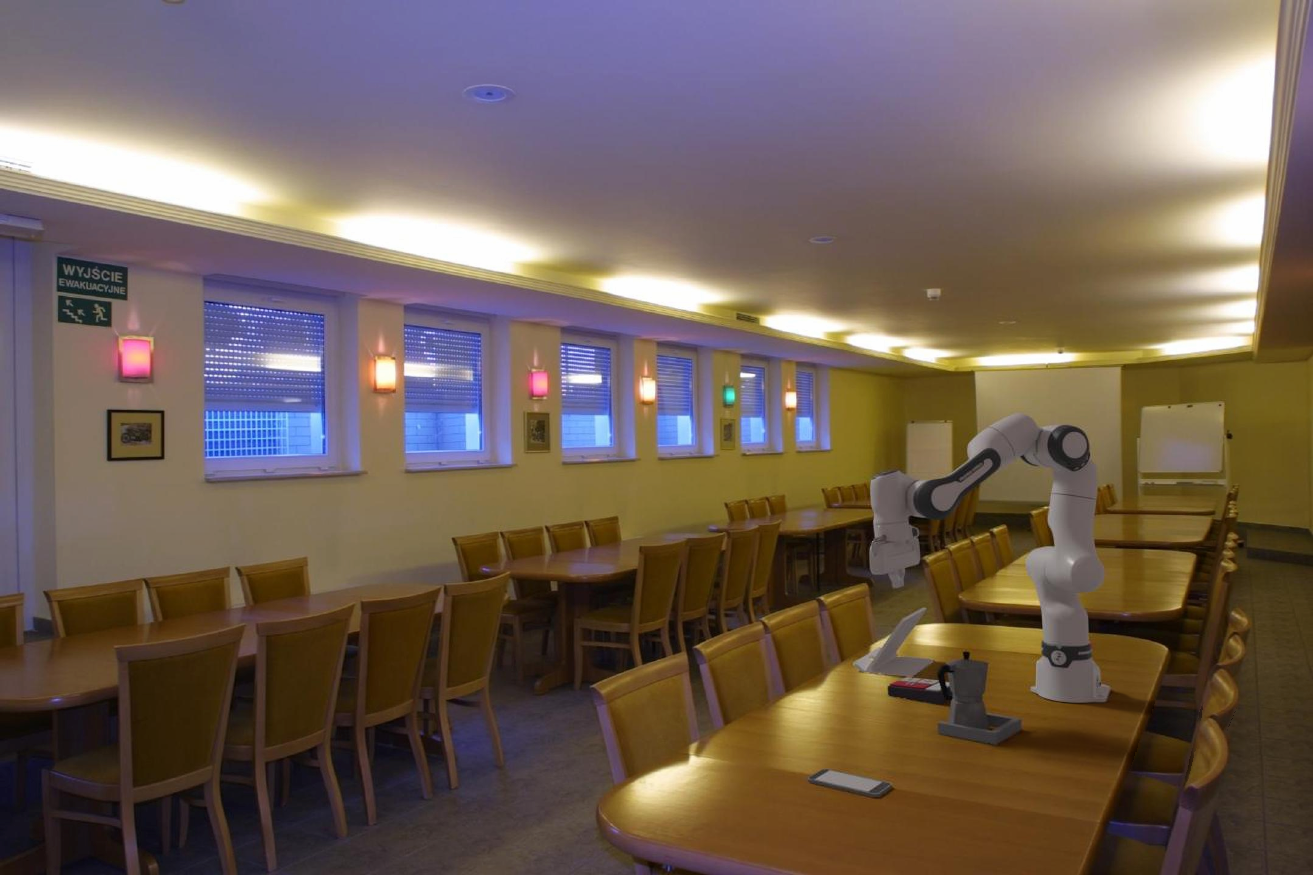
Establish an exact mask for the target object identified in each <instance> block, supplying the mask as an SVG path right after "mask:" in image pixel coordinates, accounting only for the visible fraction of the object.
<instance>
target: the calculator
mask: <svg viewBox="0 0 1313 875" xmlns="http://www.w3.org/2000/svg"><path fill="white" fill-rule="evenodd" d="M945 682H946V686H947V688H948V695H949V696H952V697H953V692H951V690H950V685H949V681H945ZM888 695H889V696H888ZM887 696H888V697H891V696H892V698H897V697H900V698H899V699H902V698H906V699H905V700H908V699H909V700H908V701H915V700H917V702H924V703H925V702H926V703H927V704H932V705H938V706H942V705H944V704H946V703H948V702H951V700H952V699H953V698H952V699H951V700H945V699H944V696H943V693H942V690H941V687H940V683H939V680H937V679H928V678H918V677H913V678H910V677H902V679H898V680H896V681H894V682H891V683H889V685H887Z"/></svg>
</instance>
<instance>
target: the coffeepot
mask: <svg viewBox="0 0 1313 875" xmlns="http://www.w3.org/2000/svg"><path fill="white" fill-rule="evenodd" d="M970 655H971V653H970V652H969V651H967V650H966V651H963V652H962V656H963V658H960V659H955V660H954V659H953V660H950V661H948V662H945V664H942V665H941V666H939V669H938V670H937V672H936V676H937V679H938V680H939V683H940V687H941V690H942V693H943V696H944V699H945V700H950V706H949V707H950V708H949V713H948V719H947V720H948V721H947V723H952V724H958V725H963V726H968V727H974V728H979V729H984V730H990V726H989V724H988V719H987V714H986V713H987V709H986V705H985V704H986V703H985V702H984V701H983V700H984V699H983V698H984V697H983V695H984V694H985V693H986V686H987V684H986V683H987V677H988V670H989V669H988V668H989V666H988V665H989V664H990V662H986V661H981V660H977V659H975V660H974V659H970V657H971V656H970ZM946 673H947V677H948V682H949V685H950V690H951V692H953V697H952V696H949V695H948V688H947V686H946V682H947V681H946V678H945V674H946ZM952 698H953V699H952ZM951 699H952V700H951Z"/></svg>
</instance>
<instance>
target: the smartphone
mask: <svg viewBox="0 0 1313 875" xmlns="http://www.w3.org/2000/svg"><path fill="white" fill-rule="evenodd" d="M807 782H808V783H809V784H813V783H814V784H813V785H818V786H821V785H823V786H822V787H825V786H828V787H827V788H830V789H834V788H836V789H835V790H838V789H839V791H842V790H844V791H843V792H847V791H850V792H849V793H851V792H852V794H855V793H857V794H856V795H859V794H861V795H860V796H865V797H868V796H869V798H872V797H878V798H880V797H881V796H883V795H884V794H886V793H887V792H889V791H891V789H893V784H892V782H888V781H885V780H879V779H875V778H871V777H865V776H862V775H857V774H853V773H852V774H851V773H848V772H844V771H839V770H835V769H830V768H823V769H820V770H819V771H816V772H815V773H814V774H813V773H812V774H811V775H810V776H808V777H807ZM882 794H883V795H882Z"/></svg>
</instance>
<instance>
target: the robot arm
mask: <svg viewBox="0 0 1313 875" xmlns="http://www.w3.org/2000/svg"><path fill="white" fill-rule="evenodd" d="M1090 447H1091V446H1090V441H1089V438H1088V436H1087V434H1086V432H1084V430H1082V429H1081V428H1080V427H1077V426H1075V425H1070V424H1062V425H1061V424H1049V425H1045V426H1038V424H1037V423H1036V421H1035V419H1033V418H1032V417H1031V416H1029V415H1028V414H1026V413H1023V412H1022V413H1021V412H1017V413H1016V412H1015V413H1013V414H1011V415H1007V416H1006V417H1003V418H1001V419H1000V420H998V421H996V422H994V423H992V424H991V425H988V427H986V428H984V429H983V430H982V431H980V432H979V433H978V434H976V435H975V436H974V437H973V438H972V439H971V440H970V441H969V443H968V444H967V448H966V449H967V451H966V452H967V458H968V459H967V461H965V462H964V463H962V464H961V465H960V466H959V467H958V468H956V469H955V470H954V471H952V472H951V473H950V474H948V475H947V476H943V477H941V478H940V477H939V478H934V479H919V478H915V477H913V476H909V475H907V474H905V473H903V472H902V471H901V470H900V469H889V470H885V471H881V472H878V473H876V474H874V475H873V476H872V477H871V480H870V486H869V489H870V492H869V493H870V505H871V509H872V511H873V522H872V523H873V532H874V538H873V541H872V542H871V545H870V547H869V570H870V572H871V574H872V575H875V576H877V575H881V576H882V575H887V574H888V575H887V576H888V577H889V579H890V581H891V586H892V588H893V589H899V588H902V587H904V586H905V584H904V578H905V574H906V569H907V568H910V567H914V566H916V565H919V564H920V561H921V550H920V548H921V547H920V542H919V538H918V537H919V535H920V531H919V528H918V527H915V526H913V525H911V524H910V523H909V518H910V516H913V517H917V518H924V519H926V518H927V519H930V520H933V521H940V520H944V519H947V518H948V517H950V516H951V515H952V514H953V513H954V512H955V511H956V509H957V507H958V506H959V504H960V503H961V501H962V500H963V498H964V497H965V496H967V495H968V494H969V493H970V492H972V490H974V489H975V488H977V487H978V486H979V485H981V484H982V483H983V482H984V481H986V480H987V479H988V478H990V477H991V476H992V475H994V474H995V473H997V472H1000V471H1001V470H1002V469H1004V468H1006V467H1007V466H1009V465H1011V464H1012V463H1013V462H1015V461H1016V460H1018V459H1021V460H1022V461H1023V462H1024V463H1026V464H1028V465H1030V466H1033V467H1045V468H1050V469H1051V472H1052V476H1053V477H1052V478H1053V482H1052V486H1051V494H1050V500H1049V506H1048V507H1049V508H1048V512H1047V524H1048V527H1049V528H1050V530H1051V533H1052V536H1053V543H1054V544H1053V545H1054V546H1053V545H1052V546H1051V545H1050V546H1047V545H1046V546H1041V547H1038V548H1037V547H1036V548H1035V549H1033V550H1032V551H1030V552H1029V553H1028V555H1027V557H1026V559H1025V563H1024V564H1025V571H1026V574H1027V575H1028V577H1030V579H1031V580H1032V582H1033V585H1034V588H1035V592H1036V594H1037V598H1038V601H1039V606H1040V610H1041V622H1042V641H1041V644H1040V649H1041V655H1042V656H1041V657H1040V659H1038V660H1037V661H1036V670H1035V673H1036V675H1035V685H1033V686H1030V692H1032V693H1035V694H1038V696H1040V697H1042V698H1043V699H1047V700H1051V701H1056V702H1063V703H1064V702H1065V703H1077V704H1079V703H1084V704H1085V703H1106V702H1107V701H1108V699H1109V696H1110V692H1111V686H1109V685H1106V684H1103V683H1102V681H1101V680H1102V676H1101V668H1100V667H1099V666H1098V665H1097V663H1096V662H1095V661H1094V660H1093V648H1094V646H1093V645H1094V644H1093V642H1092V641H1089V636H1090V635H1089V615H1088V612H1087V610H1086V608H1084V606H1083V604H1082V603H1081V601H1080V598H1079V595H1078V594H1084V593H1092V592H1095V591H1096V590H1098V589H1099V588H1100V587H1101V586H1102V585H1103V583H1104V581H1105V577H1106V571H1105V567H1104V564H1103V563H1102V561H1101V560H1100V558H1099V556H1098V553H1097V550H1096V545H1095V538H1094V522H1095V513H1096V506H1097V496H1098V485H1099V484H1098V481H1099V479H1098V467H1097V464H1096V463H1095V462H1094V461H1093V459H1090V458H1091V452H1090V449H1091V448H1090Z"/></svg>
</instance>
